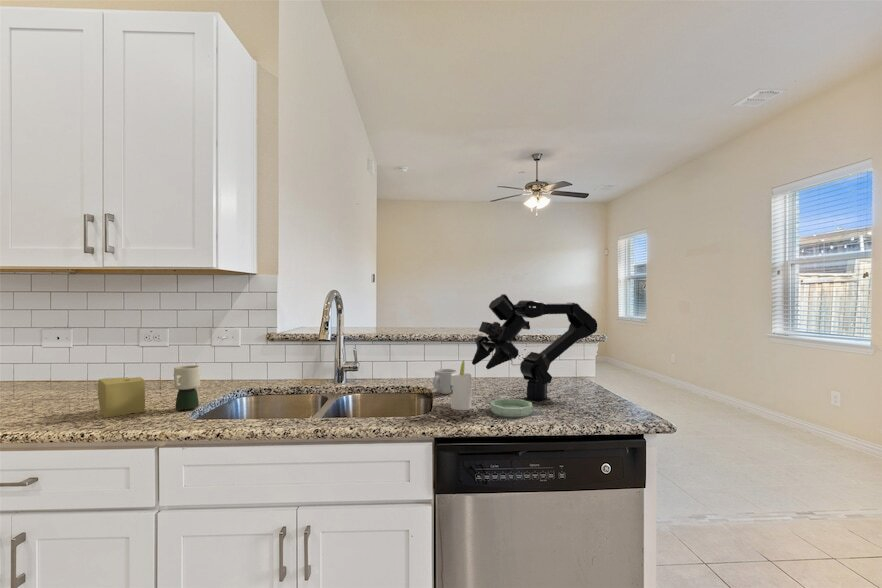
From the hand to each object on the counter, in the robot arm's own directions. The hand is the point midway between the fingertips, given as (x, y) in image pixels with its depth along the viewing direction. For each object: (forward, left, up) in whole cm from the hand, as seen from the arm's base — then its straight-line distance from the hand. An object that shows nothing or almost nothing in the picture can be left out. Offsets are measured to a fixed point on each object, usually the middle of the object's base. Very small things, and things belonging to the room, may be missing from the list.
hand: (479, 366), depth 140 cm
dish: (-2, +12, -12) cm, 17 cm away
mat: (-2, +12, -13) cm, 17 cm away
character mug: (+75, -50, -13) cm, 91 cm away
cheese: (+92, -57, -13) cm, 109 cm away
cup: (-1, -21, -13) cm, 25 cm away
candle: (+7, -1, -13) cm, 15 cm away
